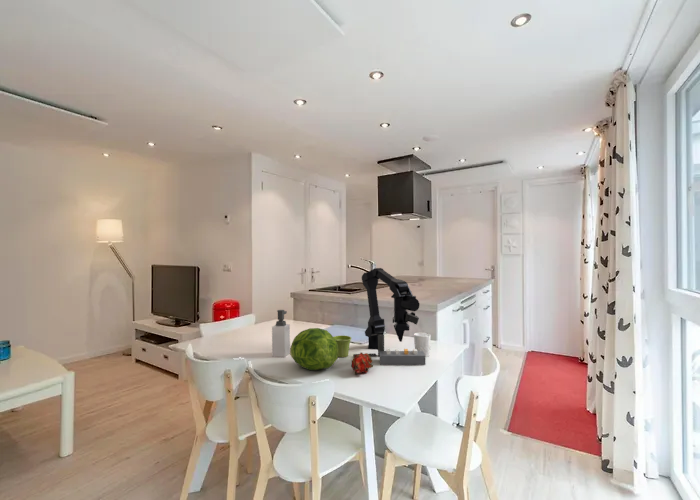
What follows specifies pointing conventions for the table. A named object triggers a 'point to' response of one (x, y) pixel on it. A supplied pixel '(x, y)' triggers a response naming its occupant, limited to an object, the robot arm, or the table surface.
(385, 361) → the breaker strip
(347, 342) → the plant pot
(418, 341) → the white cup
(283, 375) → the table surface
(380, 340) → the post
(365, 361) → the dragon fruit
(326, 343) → the lettuce
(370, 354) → the dark grey thin rod
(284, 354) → the soap dispenser
